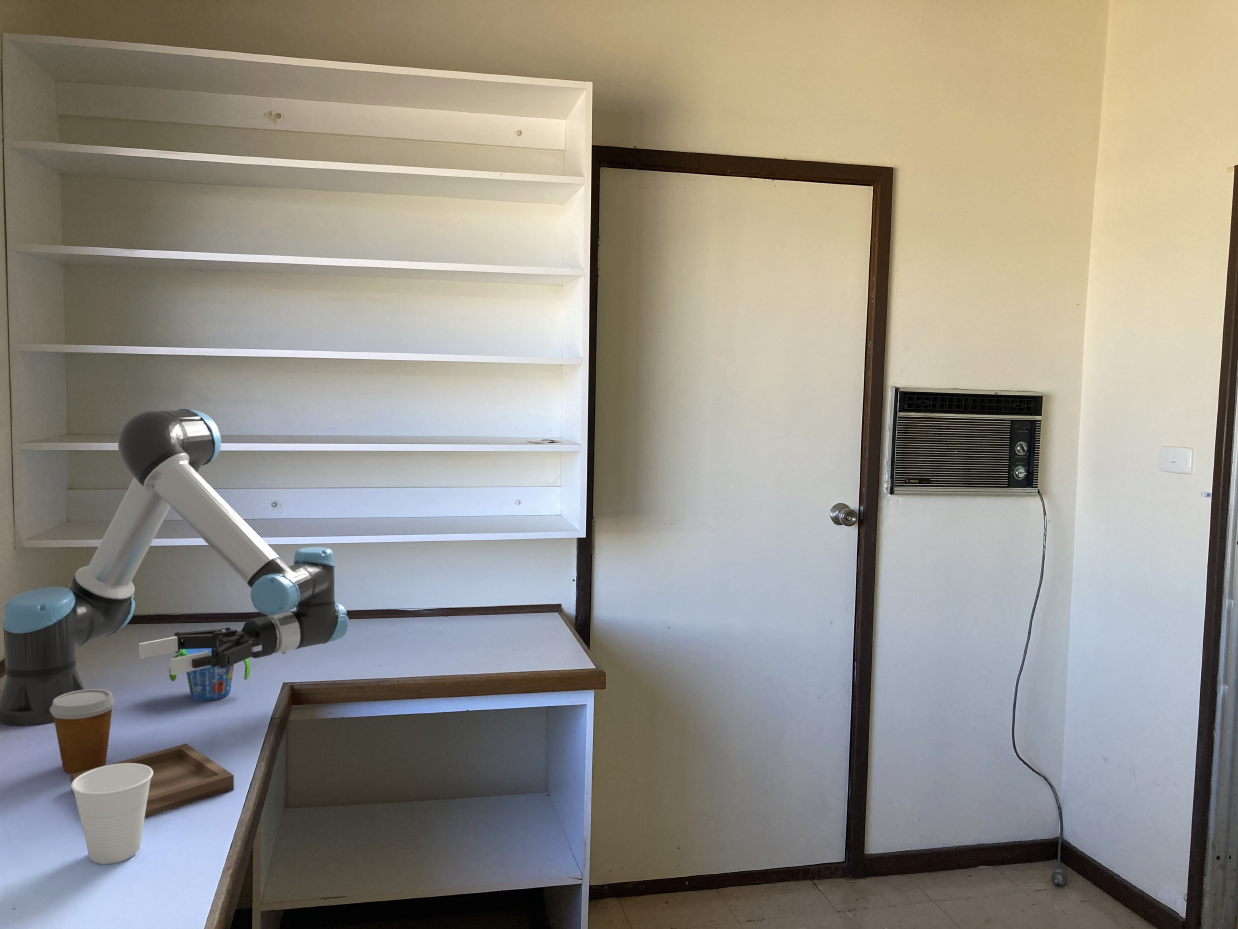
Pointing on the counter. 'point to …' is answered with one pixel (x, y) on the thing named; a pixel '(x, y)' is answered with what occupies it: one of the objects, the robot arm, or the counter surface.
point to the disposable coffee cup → (83, 728)
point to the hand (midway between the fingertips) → (154, 659)
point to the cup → (113, 809)
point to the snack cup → (209, 678)
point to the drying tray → (179, 778)
